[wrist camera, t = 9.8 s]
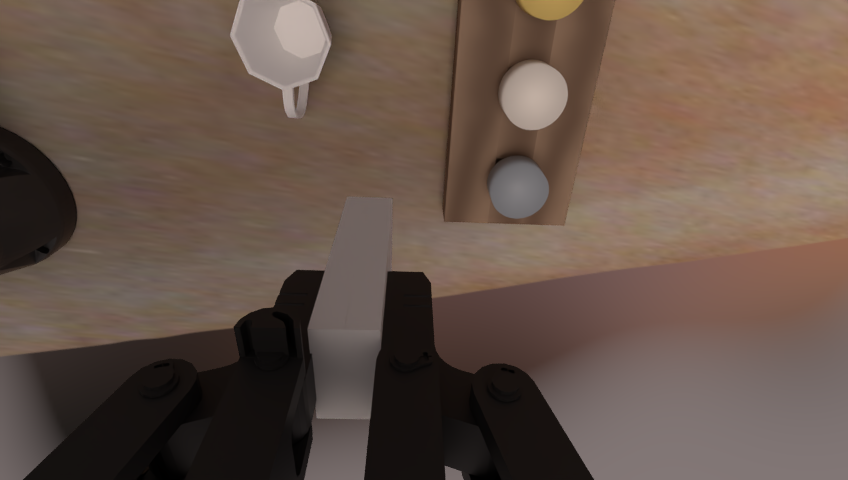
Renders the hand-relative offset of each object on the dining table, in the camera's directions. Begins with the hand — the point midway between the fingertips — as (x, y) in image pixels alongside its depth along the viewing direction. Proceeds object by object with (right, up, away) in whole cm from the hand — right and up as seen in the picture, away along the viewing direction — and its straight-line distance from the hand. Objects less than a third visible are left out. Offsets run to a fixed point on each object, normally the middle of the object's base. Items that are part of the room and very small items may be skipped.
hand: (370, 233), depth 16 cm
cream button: (+10, +13, +24) cm, 30 cm away
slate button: (+10, +6, +28) cm, 31 cm away
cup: (-8, +17, +24) cm, 31 cm away
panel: (+10, +14, +26) cm, 31 cm away
